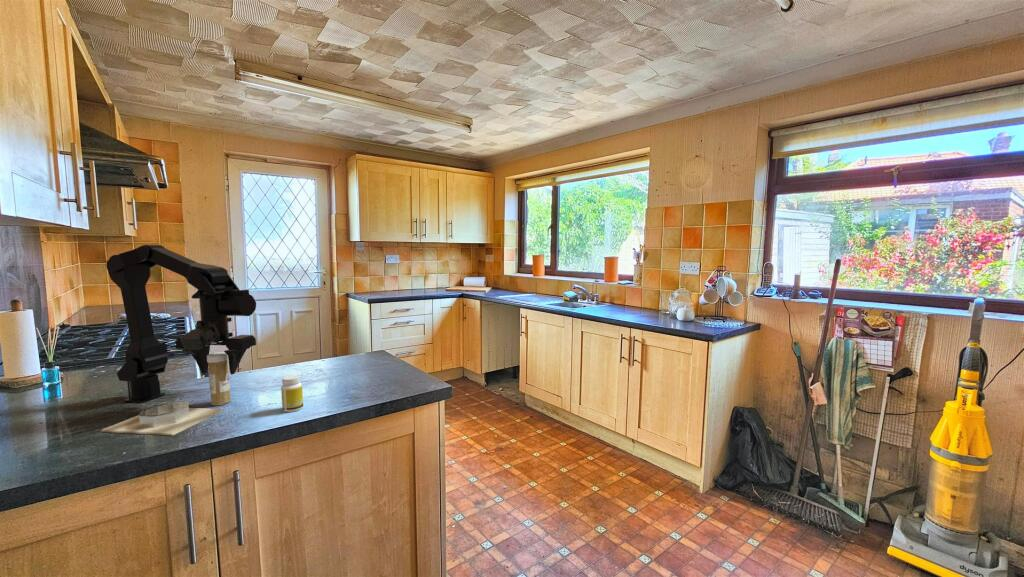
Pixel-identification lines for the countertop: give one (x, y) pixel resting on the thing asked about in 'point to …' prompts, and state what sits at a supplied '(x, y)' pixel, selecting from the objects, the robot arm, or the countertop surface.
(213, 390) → the sprinkles bottle
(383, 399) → the countertop surface
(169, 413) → the socket collar
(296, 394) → the supplement bottle
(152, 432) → the dock plate
